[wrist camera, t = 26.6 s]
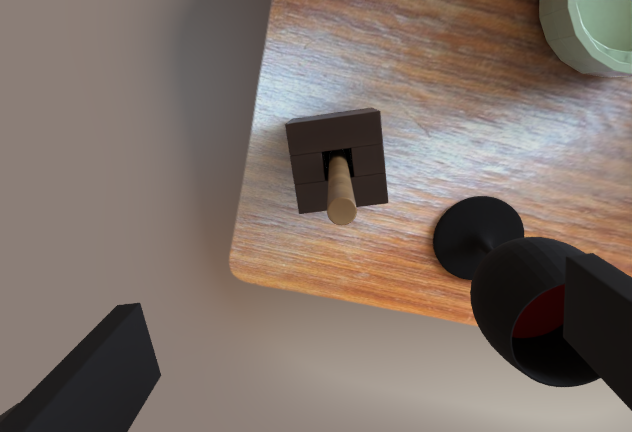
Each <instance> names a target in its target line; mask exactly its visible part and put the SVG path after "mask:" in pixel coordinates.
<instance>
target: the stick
mask: <svg viewBox="0 0 632 432" xmlns="http://www.w3.org/2000/svg"><path fill="white" fill-rule="evenodd" d="M327 214H328V217H329V219H330V220H331V221H332V222H333V223H335V224H337V225H346V224H349V223H351V222H352V221H353V220H354V218H355V217H356V214H357V208H356V203H355V198H354V194H353V189H352V184H351V179H350V174H349V169H348V164H347V159H346V154H345V152H344V150H342V149H339V150H332V151H331V152H330V155H329V178H328V202H327Z"/></svg>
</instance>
